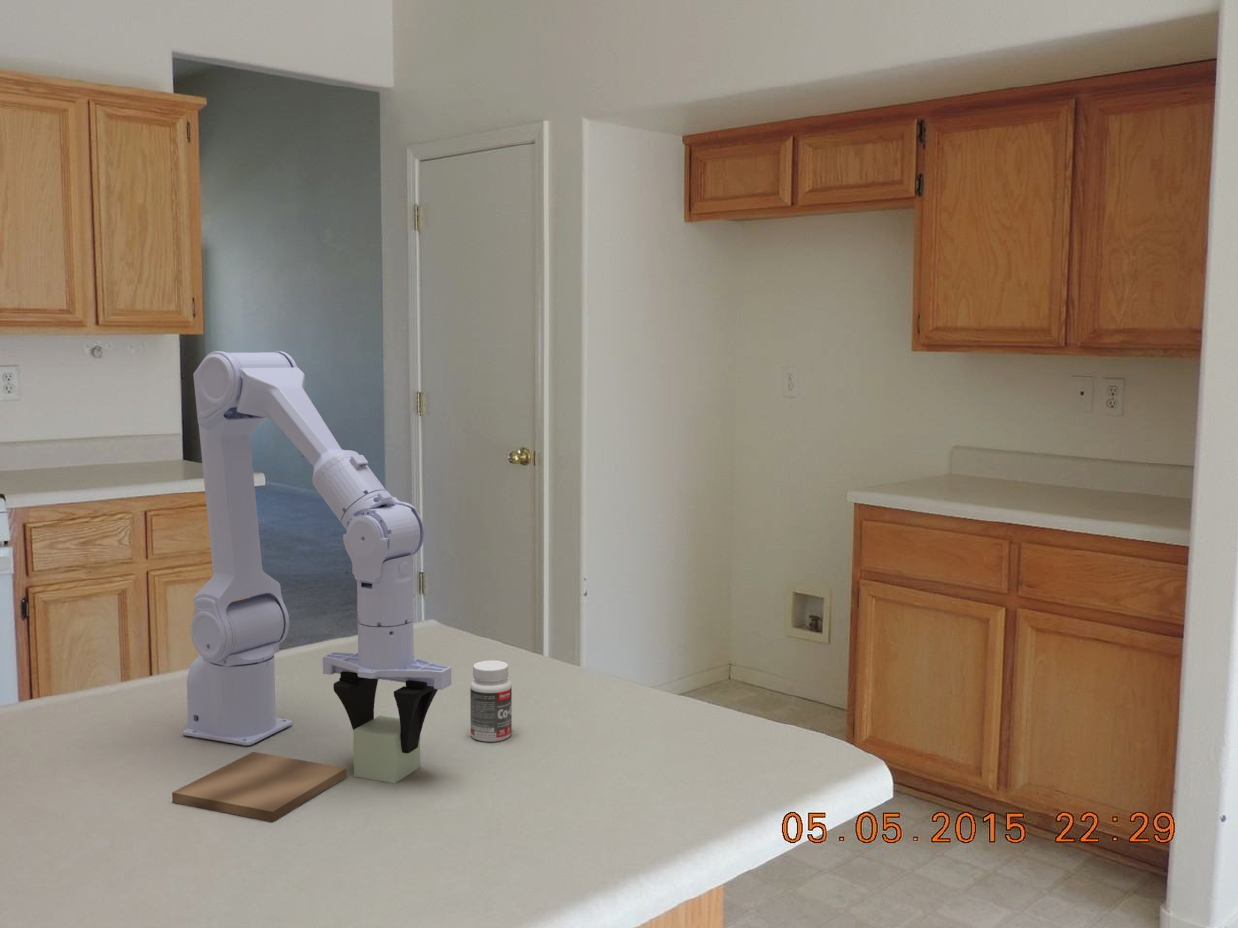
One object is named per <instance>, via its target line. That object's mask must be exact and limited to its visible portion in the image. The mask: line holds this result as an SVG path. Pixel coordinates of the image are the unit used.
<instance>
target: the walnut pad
mask: <svg viewBox="0 0 1238 928" xmlns="http://www.w3.org/2000/svg"><path fill="white" fill-rule="evenodd" d="M347 778H348V768H347V767H344V766H338V765H333V764H332V765H331V764H326V763H321V762H316V761H315V762H314V761H309V760H303V759H296V758H291V757H285V756H280V755H275V754H267V753H262V752H256V751H252V752H250V753H247V754H246V755H243V756H242V757H240V758H237V759H235V760H234V761H232V762H230V763H227V764H225V765H223V766H222V767H220V768H217V769H216V770H214V771H212V772H210V773H208V774H206V775H204V776H202V777H200V778H198V779H196V780H194V781H192V782H190V783H188V784H186V785H184V786H182V787H180V788H178V789H176V790H174V791H172V792H171V797H172V801H171V802H172V803H175V804H180V805H184V806H190V807H196V808H201V809H205V810H209V811H210V810H211V811H216V812H221V813H226V814H231V815H236V816H241V817H247V818H251V819H255V820H256V819H257V820H261V821H267V822H271V823H272V822H275V821H277V820H279V819H280V818H282V817H284V816H285V815H286V814H288V813H290V812H291V811H293V810H295V809H296V808H298V807H300V806H302V805H303V804H305V803H306V802H308V801H309V800H311V799H313V798H315V797H316V796H318V795H319V794H321V793H323V792H325V791H326V790H327V789H330V788H331V787H333V786H334V785H336V784H337V783H340V782H341V781H343V780H345V779H347Z"/></svg>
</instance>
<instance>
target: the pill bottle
mask: <svg viewBox="0 0 1238 928" xmlns="http://www.w3.org/2000/svg"><path fill="white" fill-rule="evenodd" d="M472 668H473V670H472V676H473V680H471V682H470V689H469V690H470V693H469V694H470V696H469V697H470V699H469V700H470V701H469V702H470V736H471V737H472V738H473V740H476V741H480V742H486V743H490V742H491V743H492V742H493V743H494V742H495V743H496V742H501V741H504V740H507V739H508V738H510V737H511V736H512V727H513V725H512V722H513V721H512V719H513V718H512V710H513V709H512V707H513V705H512V700H513V699H512V695H513V694H512V682H511V680H510V679H508V678H509V664H508V663H507V662H505V661H501V660H482V661H478V662H475V663H474V664H473V666H472Z"/></svg>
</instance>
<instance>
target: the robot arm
mask: <svg viewBox="0 0 1238 928" xmlns="http://www.w3.org/2000/svg"><path fill="white" fill-rule="evenodd" d="M193 384H194V395H195V404H196V405H195V406H196V417H197V424H198V432H199V441H200V451H201V462H202V472H203V482H204V485H203V486H204V492H205V502H206V503H205V505H206V515H207V525H208V535H209V546H210V547H209V548H210V555H211V566H212V568H211V569H212V576H211V577H210V578H209V579H208V581H207V582H206V583H204V585H203V586H202V587H201V588H200V589H199V590H198V591H197V593H195V594H194V596H193V607H194V609H193V610H194V611H193V616H192V622H191V627H190V634H191V635H190V636H191V640H192V644H193V646H194V648H195V650H196V651H197V653H198V654H199V656H197V657H196V658H195V659H194V660H193V662H192V663H191V666H189V670H188V673H187V677H186V678H187V679H186V699H187V700H186V702H187V727H188V728H186V729H184V730H183V736H187V737H194V738H200V739H206V740H212V741H217V742H218V741H219V742H223V743H231V744H235V745H243V746H251V745H254V744H255V743H258V742H260V741H262V740H263V739H266V738H268V737H271V736H272V735H274V734H276V733H278V732H279V731H282V730H284V729H286V728H288V727H290V726H292V724H293V721H292V720H290V719H285V718H279V717H276V716H277V715H276V713H277V712H276V710H277V708H276V672H275V671H276V670H275V669H276V667H275V655H276V654H277V653H279V652H280V644H281V643H283V641H284V640H285V639H286V637H287V636H288V634H289V630H290V616H289V612H288V610H287V607H286V605H285V603H284V599H283V595H282V587H281V583H280V582H278V581H277V580H275V579H274V578H273V577H271V576H270V575H269V574H267V573H266V572H265V571H264V570H263V564H262V551H261V543H260V532H259V531H260V530H259V519H258V518H259V517H258V509H257V497H256V488H255V476H254V467H253V455H252V447H251V446H252V445H251V444H252V443H251V436H252V434H253V433H254V431H255V430H257V428H258V427H259V426H260V424H261V423H262V422H264V421H265V420H268V419H271V420H272V421H274V423H275V424H276V425H277V426H278V427H279V429H280V430H281V431H282V432H283V433H284V434H285V435H286V437H287V438H288V439H289V440H290V442H292V443H293V445H294V446H295V447H296V448H297V449H298V451H299V452H300V453H301V454H302V456H304V457H305V459H306V460H307V461H308V462H309V463H310V465H311V466H313V473H312V479H311V480H312V485H313V486H314V488H315V489H316V491H317V492H318V494H319V495H320V496H321V498H322V499H323V500H324V501H325V503H326V504H327V505H328V507H329V508H330V509H331V512H332V513H333V514H334V515H335V517H336V518H337V519H338V520H339V522H340V523H341V525H342V526H343V527H344V529H345V530H346V533H345V534H342V540H343V545H344V548H345V551H346V553H347V555H348V556H349V558H350V561H351V565H352V567H351V568H352V572H351V573H352V575H354V576H353V577H354V579H355V580H356V590H357V591H356V592H357V593H356V598H357V599H356V600H357V605H356V606H357V609H356V610H357V653H356V652H338V651H332V652H330V653H327V654H326V655H323V656H322V674H323V675H329V676H331V675H334V674H337V675H338V674H339V675H340V677H339V678H338V679H339V680H337V681H335V682H334V683H333V685H332V686H333V691H334V693H335V695H336V696H337V697H338V699H339V700H340V702H341V704H342V706H343V708H344V709H345V712H346V713H347V716H348V719H349V721H350V725H351V728H352V731H353V730H354V729H356V728H358V727H360V726H361V725H363V724H365V723H367V722H369V721H371V720H373V719H374V718H375V701H376V694H377V693H376V692H377V687H378V684H379V680H381V681H382V680H383V681H391V682H396V683H398V682H399V683H404V684H405V686H402V687H400V688H398V689H396V690H394V691H393V697H394V700H395V702H396V707H397V711H398V716H399V717H398V718H400V730H401V747H402V752H403V753H410V752H412V751H413V750H415V749H416V748H418V743H419V738H420V739H421V734H422V729H423V725H424V723H425V718H426V716H427V713H428V710H429V708H430V705H431V704H432V702H433V700H434V698H435V696H436V694H437V692H438V691H439V690H440V691H443V690H444V689H446V688H448V687H450V686H451V685H452V666H447V665H442V664H437V663H434V662H431V661H429V660H425V659H420V658H417V657H414V655H415V654H414V653H415V652H414V651H415V650H414V649H415V648H414V642H415V641H414V560H413V559H414V556H415V554H418V552H419V551H420V550H421V548H422V546H423V543H424V541H425V526H424V522H423V519H422V517H421V516H420V514H419V513H418V510H417V508H416V507H415V506H413V504H411V503H409V502H405V501H400V500H399V499H398V498H397V497H396V496H392V494H391V493H390V492H389V491H387V489H386V488H385V487H384V485H383V484H382V483H381V481H380V480H379V479H378V478H377V476H376V474H375V473H374V472H373V470H372V469H371V468H370V467H369V466H368V464H369V461H368V460H367V459H366V457H365V456H364V455H363V454H359V452H357V451H355V450H350V449H349V450H347V449H342V447H341V446H340V445H339V443H338V441H337V440H336V438H335V436H334V435H333V434H332V433H333V432H331V430H330V429H329V427H328V426H327V424H326V422H325V421H324V419H323V417H322V416H321V414H320V413H319V411H318V410H317V408H316V406H315V405H314V404H313V402H312V400H311V399H310V397H309V396H308V394H307V392H306V391H305V386H306V376H305V373H304V371H302V370H301V369H300V368H299V367H298V365H297V363H296V361H295V360H294V358H293V357H292V356H291V355H290V354H288V353H287V352H285V351H282V350H273V351H271V352H269V351H268V352H266V351H265V352H263V351H261V352H249V351H248V352H225V351H220V350H217V351H216V350H215V351H212V352H210V353H208V354H206V356H205V357H204V358H203V360H202V361H201V362H200V364H199V365H198V366H197V368H196V370H195V371H194V372H193Z"/></svg>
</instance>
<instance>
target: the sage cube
mask: <svg viewBox="0 0 1238 928" xmlns="http://www.w3.org/2000/svg"><path fill="white" fill-rule="evenodd" d="M352 736H353V737H352V739H353V740H352V745H353V746H352V748H353V750H352V751H353V777H355V778H360V779H367V780H368V779H369V780H373V781H378V782H385V783H391V784H396V783H398V782H399V781H401V780H402V779H404V778H406V777H407V776H408V775H410V774H411V773H413V772H414V771H416V770H417V769H420V768H421V737H420V738H419V743H418V748H416V749H415V750H413V751H412V752H410V753H403V752H402V747H401V730H400V718H399V717H391V716H385V715H379V716H376V717H374V719H373V720H371V721H369V722H367V723H365V724H363V725H361V726H360V727H358V728H356V729H354V730H353V729H352Z"/></svg>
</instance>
